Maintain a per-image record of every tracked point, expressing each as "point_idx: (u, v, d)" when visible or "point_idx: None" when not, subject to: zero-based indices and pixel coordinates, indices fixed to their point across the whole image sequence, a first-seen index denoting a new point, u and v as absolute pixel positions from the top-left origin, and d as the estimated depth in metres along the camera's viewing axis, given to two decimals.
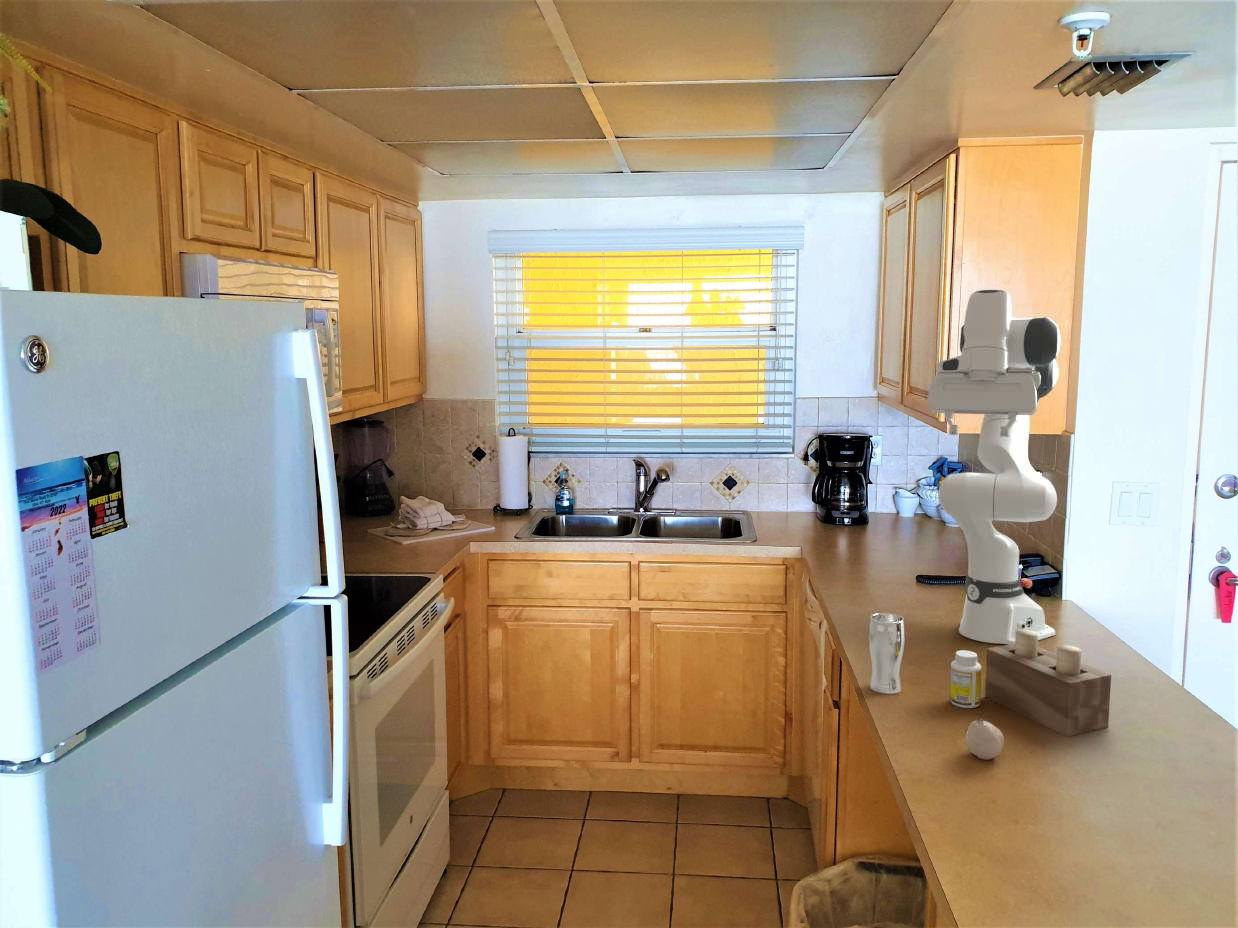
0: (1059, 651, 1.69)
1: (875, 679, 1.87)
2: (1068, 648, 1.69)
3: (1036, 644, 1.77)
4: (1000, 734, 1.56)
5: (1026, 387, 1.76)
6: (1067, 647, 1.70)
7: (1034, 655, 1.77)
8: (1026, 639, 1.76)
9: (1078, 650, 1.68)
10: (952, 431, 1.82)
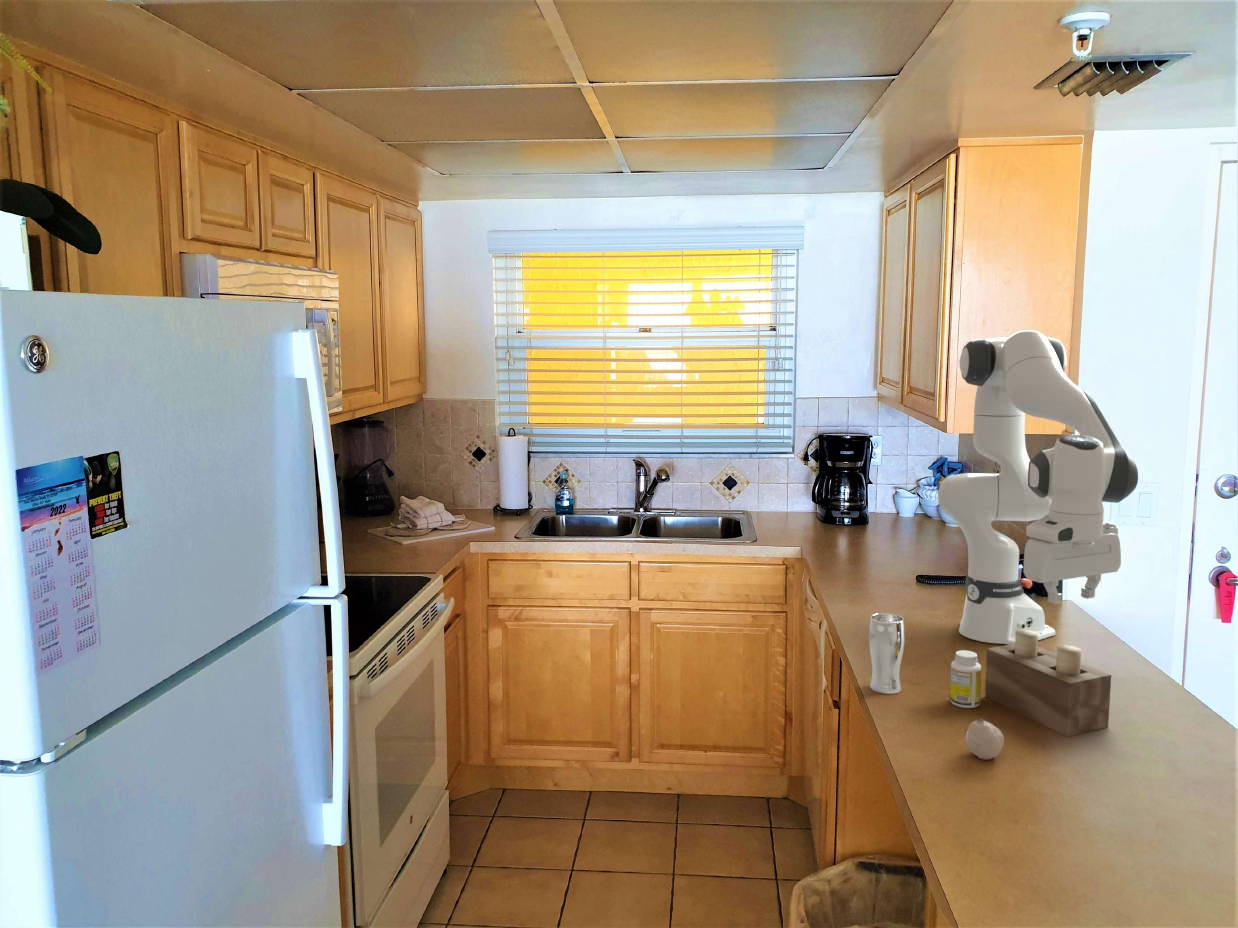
0: (1059, 651, 1.69)
1: (875, 679, 1.87)
2: (1068, 648, 1.69)
3: (1036, 644, 1.77)
4: (1000, 734, 1.56)
5: (1115, 548, 1.68)
6: (1067, 647, 1.70)
7: (1034, 655, 1.77)
8: (1026, 639, 1.76)
9: (1078, 650, 1.68)
10: (1057, 602, 1.65)
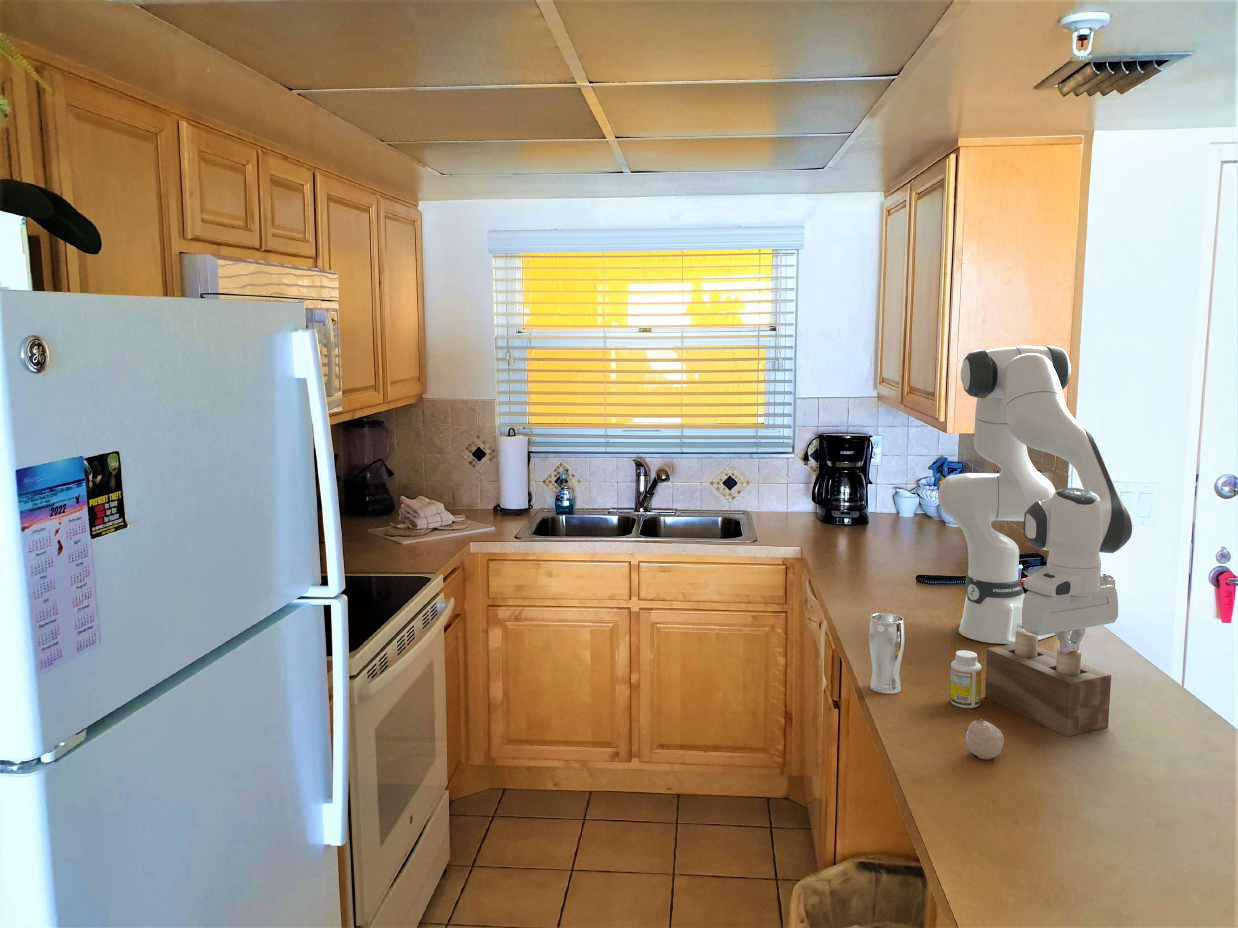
0: (1059, 654, 1.69)
1: (875, 679, 1.87)
2: None
3: (1036, 644, 1.77)
4: (1000, 734, 1.56)
5: (1112, 599, 1.69)
6: None
7: (1034, 655, 1.77)
8: (1026, 639, 1.76)
9: (1078, 653, 1.68)
10: (1069, 651, 1.68)
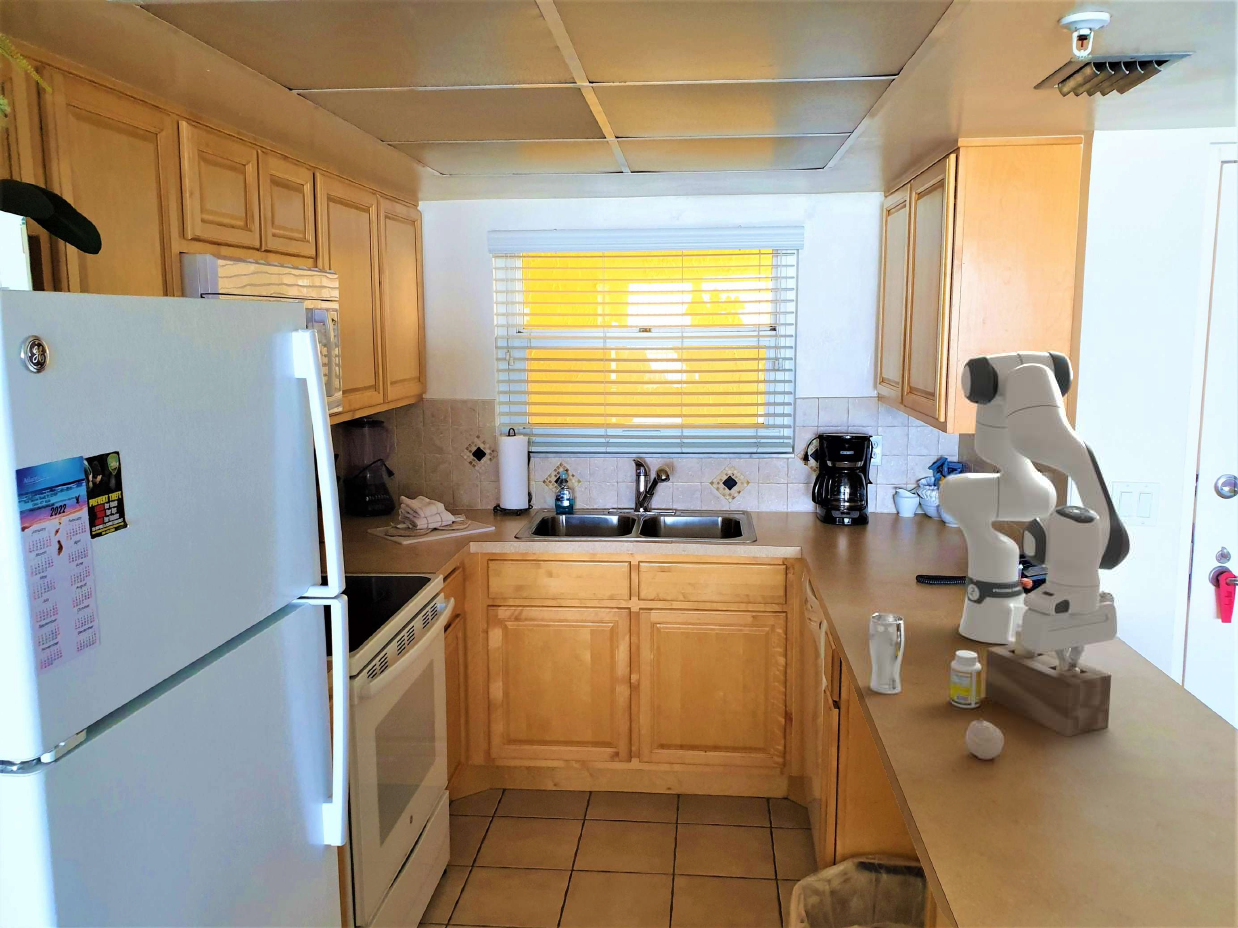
0: (1058, 671, 1.69)
1: (875, 679, 1.87)
2: None
3: None
4: (1000, 734, 1.56)
5: (1111, 616, 1.70)
6: None
7: (1034, 655, 1.77)
8: None
9: (1077, 671, 1.68)
10: (1068, 668, 1.68)
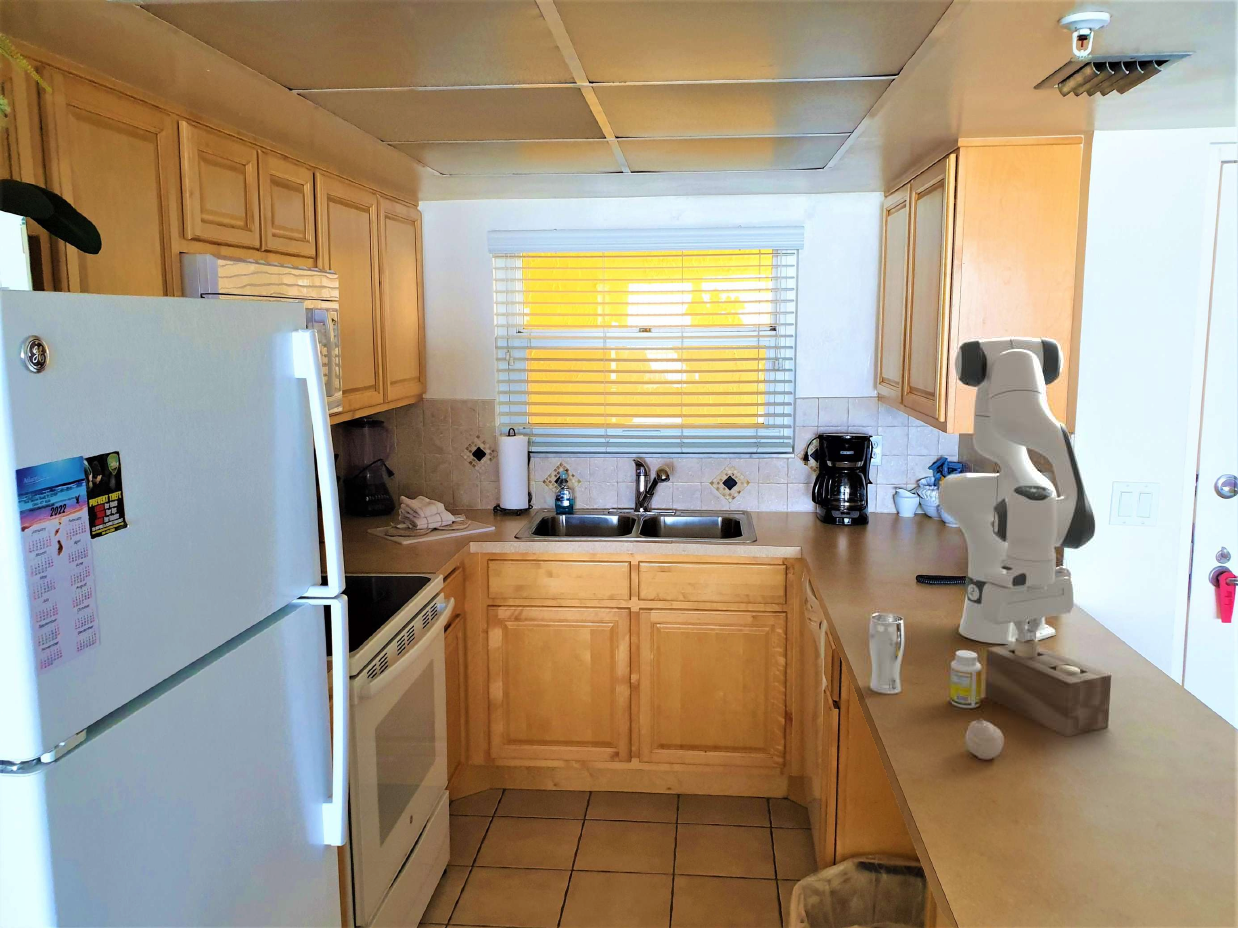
0: (1058, 671, 1.69)
1: (875, 679, 1.87)
2: (1067, 668, 1.70)
3: (1036, 651, 1.77)
4: (1000, 734, 1.56)
5: (1068, 590, 1.78)
6: (1066, 667, 1.70)
7: None
8: (1026, 647, 1.77)
9: (1077, 671, 1.68)
10: (1026, 640, 1.77)
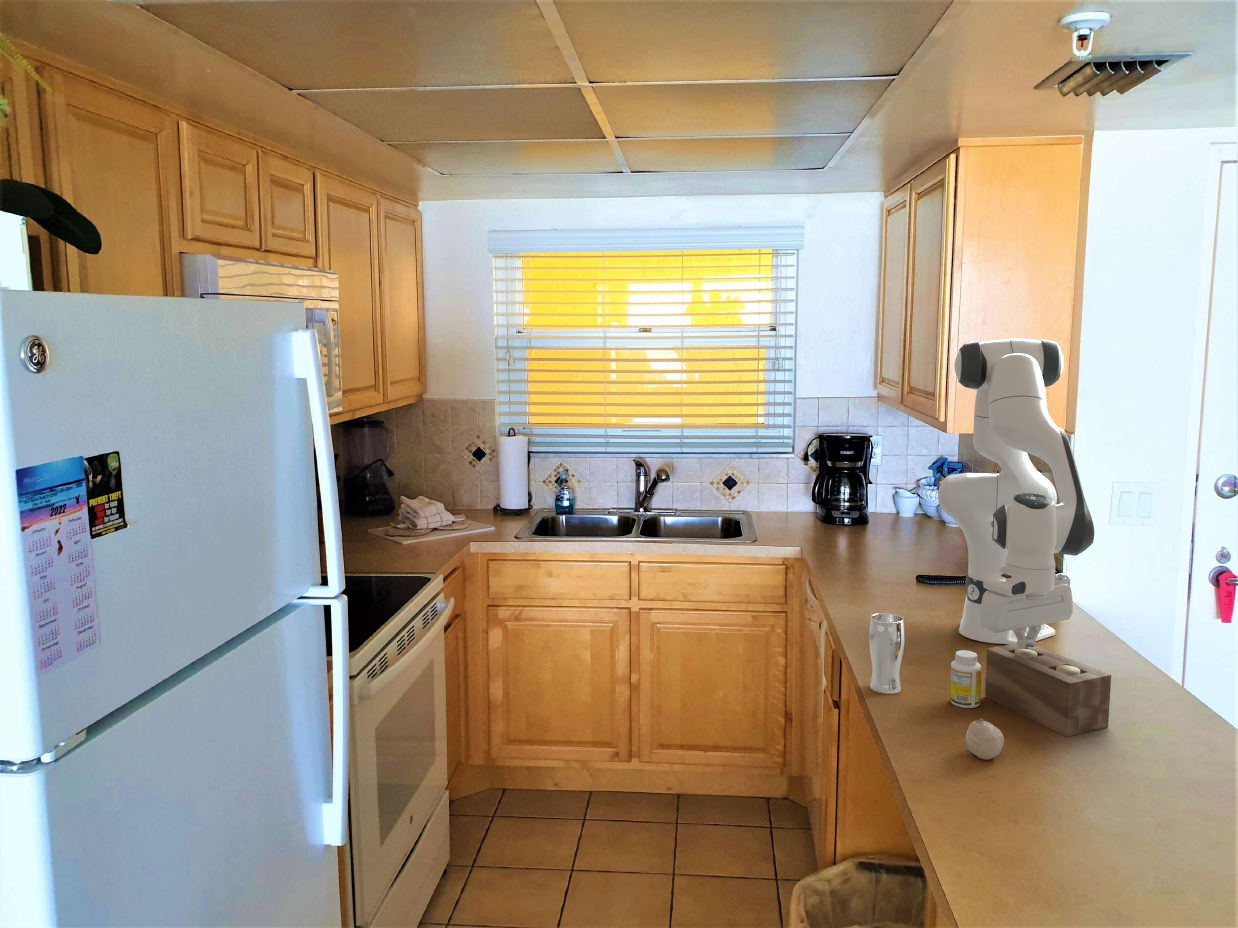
0: (1058, 671, 1.69)
1: (875, 679, 1.87)
2: (1067, 668, 1.70)
3: None
4: (1000, 734, 1.56)
5: (1067, 597, 1.79)
6: (1066, 667, 1.70)
7: None
8: None
9: (1077, 671, 1.68)
10: (1026, 647, 1.78)
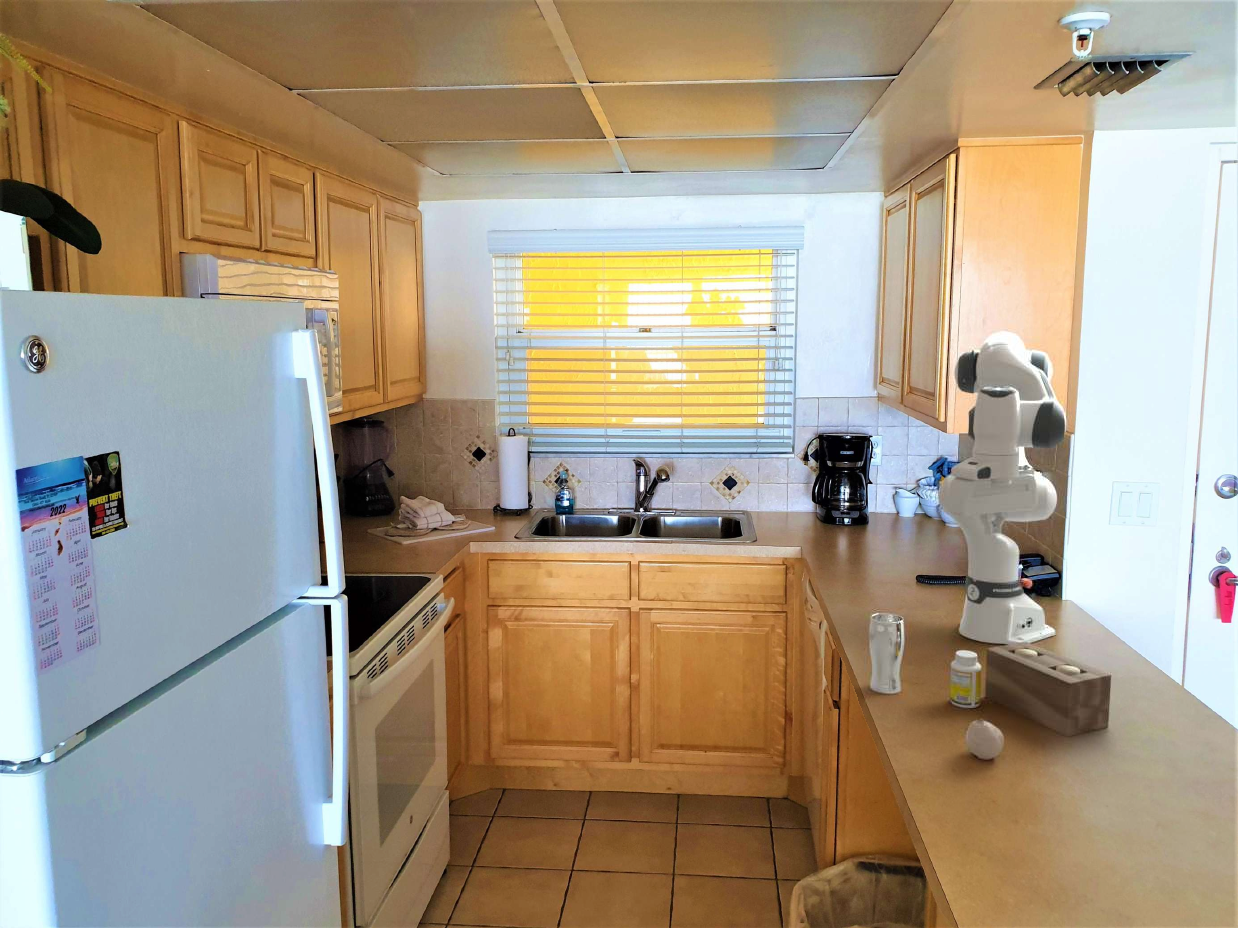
0: (1058, 671, 1.69)
1: (875, 679, 1.87)
2: (1067, 668, 1.70)
3: None
4: (1000, 734, 1.56)
5: (1031, 487, 1.88)
6: (1066, 667, 1.70)
7: None
8: None
9: (1077, 671, 1.68)
10: (992, 533, 1.86)
